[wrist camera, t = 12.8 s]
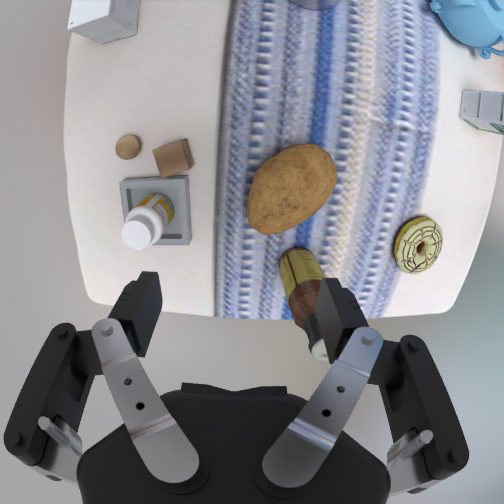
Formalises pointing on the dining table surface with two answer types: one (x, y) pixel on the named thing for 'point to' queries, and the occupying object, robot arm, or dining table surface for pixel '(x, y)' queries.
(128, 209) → the tray
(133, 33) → the skincare box
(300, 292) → the sauce bottle
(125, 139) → the cork ball
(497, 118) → the syrup box
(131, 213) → the supplement bottle
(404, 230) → the decorated donut
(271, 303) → the dining table surface
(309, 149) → the potato
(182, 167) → the walnut block
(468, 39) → the decorative pot
